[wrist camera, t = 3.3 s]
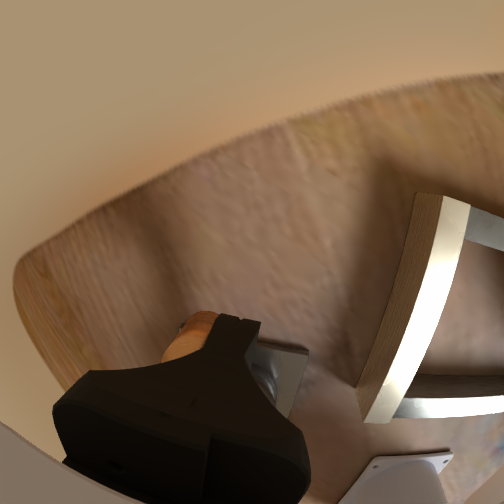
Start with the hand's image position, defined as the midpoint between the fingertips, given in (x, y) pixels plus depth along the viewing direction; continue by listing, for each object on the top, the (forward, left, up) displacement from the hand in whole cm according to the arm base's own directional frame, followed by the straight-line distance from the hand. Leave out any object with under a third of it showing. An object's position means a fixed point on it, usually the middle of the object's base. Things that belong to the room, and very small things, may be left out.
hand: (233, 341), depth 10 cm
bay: (+1, -18, -5) cm, 18 cm away
